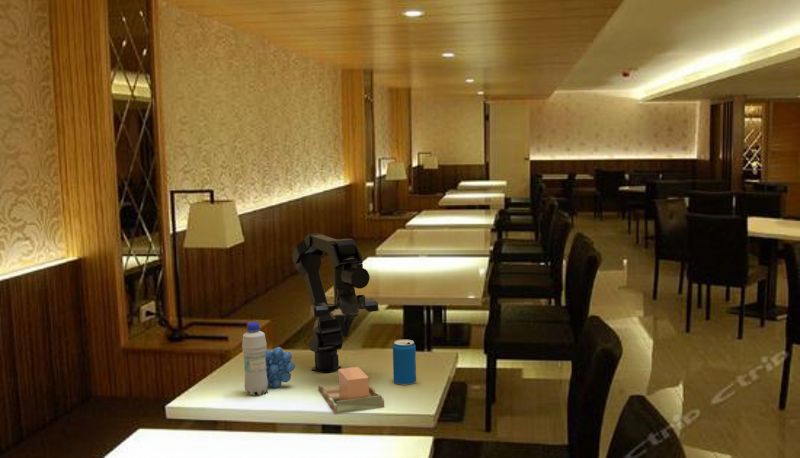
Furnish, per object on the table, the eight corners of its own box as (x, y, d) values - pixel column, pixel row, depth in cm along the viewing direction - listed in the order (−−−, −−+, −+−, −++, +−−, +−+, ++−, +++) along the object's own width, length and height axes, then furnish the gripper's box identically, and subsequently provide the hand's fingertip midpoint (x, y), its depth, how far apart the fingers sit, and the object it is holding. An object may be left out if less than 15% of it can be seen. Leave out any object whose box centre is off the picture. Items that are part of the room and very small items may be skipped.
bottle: (248, 398, 205) (245, 326, 203) (241, 391, 211) (237, 321, 209) (272, 394, 208) (269, 323, 206) (264, 387, 214) (261, 318, 212)
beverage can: (414, 387, 211) (413, 345, 210) (391, 386, 213) (390, 344, 211) (418, 380, 218) (417, 339, 216) (396, 379, 219) (395, 338, 218)
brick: (339, 398, 202) (338, 369, 201) (359, 395, 204) (358, 366, 203) (348, 410, 193) (347, 380, 192) (369, 407, 195) (368, 377, 194)
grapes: (298, 383, 217) (297, 342, 216) (294, 391, 210) (292, 349, 209) (258, 383, 218) (256, 343, 216) (252, 391, 211) (250, 349, 209)
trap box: (318, 391, 210) (318, 378, 210) (363, 385, 214) (363, 373, 214) (335, 415, 191) (334, 402, 191) (384, 408, 195) (384, 395, 195)
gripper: (317, 291, 205) (319, 347, 207) (383, 285, 210) (384, 340, 212) (309, 284, 215) (311, 337, 217) (372, 278, 221) (373, 331, 223)
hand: (345, 336), depth 217 cm, fingers closed
